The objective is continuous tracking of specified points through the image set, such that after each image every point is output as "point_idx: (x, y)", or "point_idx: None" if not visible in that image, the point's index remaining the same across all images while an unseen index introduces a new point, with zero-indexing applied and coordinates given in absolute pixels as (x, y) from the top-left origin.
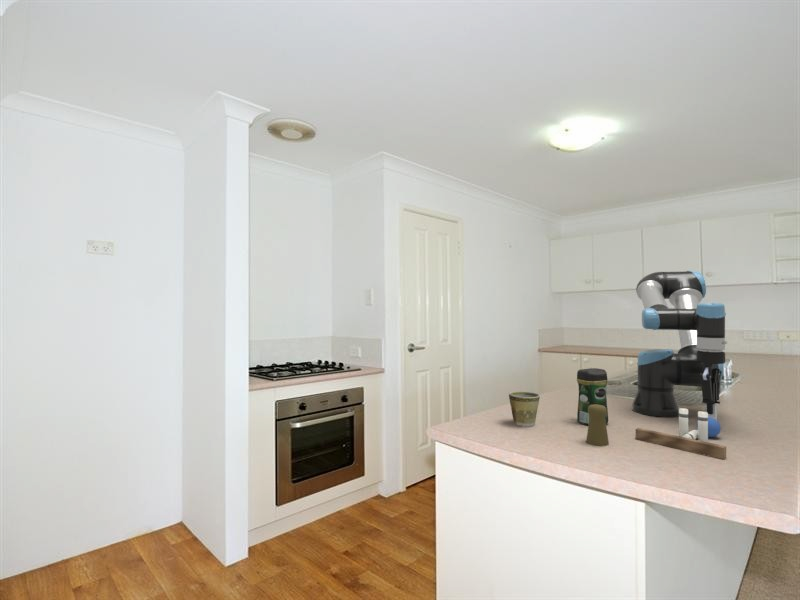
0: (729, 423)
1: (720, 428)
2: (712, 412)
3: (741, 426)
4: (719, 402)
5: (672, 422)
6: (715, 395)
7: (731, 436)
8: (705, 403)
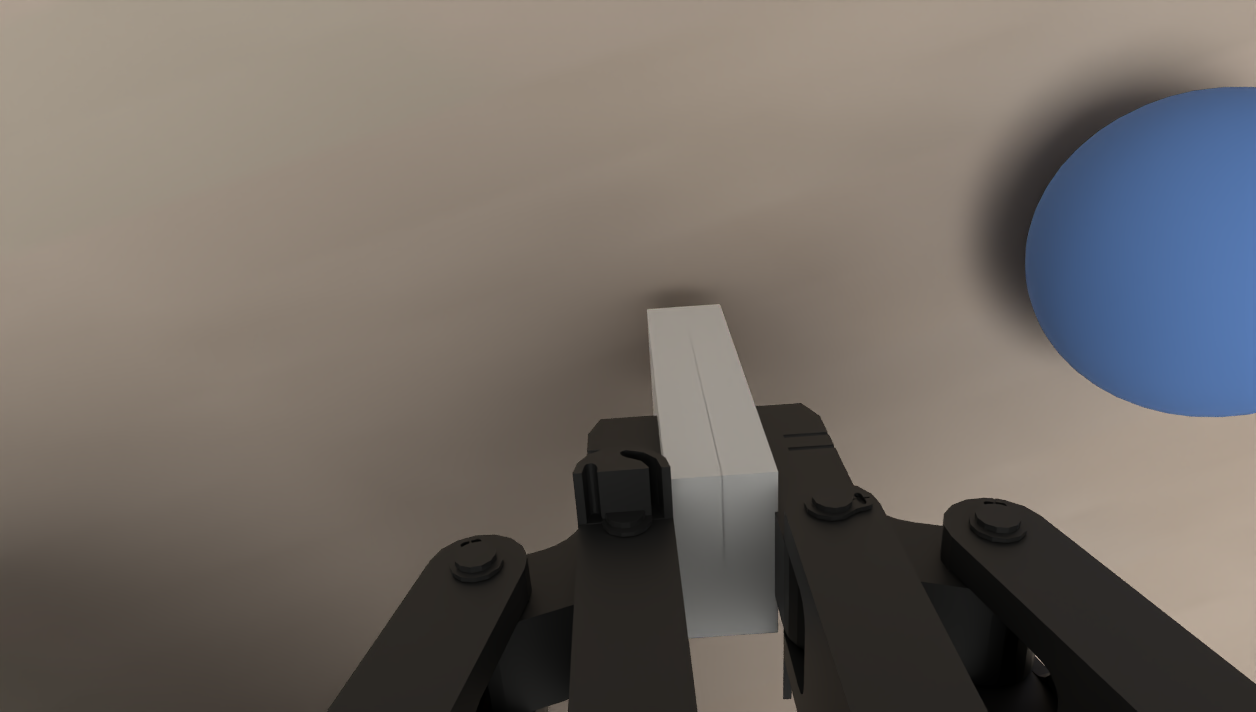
0: (79, 313)
1: (1239, 89)
2: (779, 421)
3: (84, 147)
4: (627, 462)
5: (706, 698)
6: (688, 640)
7: (849, 29)
8: (777, 624)
